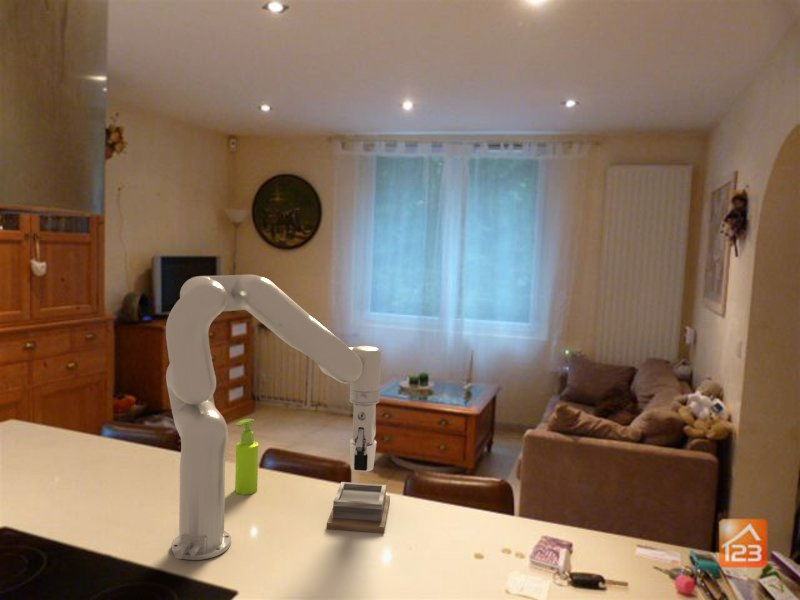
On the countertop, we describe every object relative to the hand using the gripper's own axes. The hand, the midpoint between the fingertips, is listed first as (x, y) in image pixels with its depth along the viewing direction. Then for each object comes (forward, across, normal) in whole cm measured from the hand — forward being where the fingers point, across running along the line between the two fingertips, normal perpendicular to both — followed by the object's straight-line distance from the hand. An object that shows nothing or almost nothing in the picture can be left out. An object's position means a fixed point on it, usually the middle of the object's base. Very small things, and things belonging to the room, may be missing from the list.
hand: (362, 464), depth 149 cm
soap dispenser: (+13, +9, +33) cm, 37 cm away
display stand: (+13, 0, 0) cm, 13 cm away
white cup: (+1, 0, 0) cm, 1 cm away
